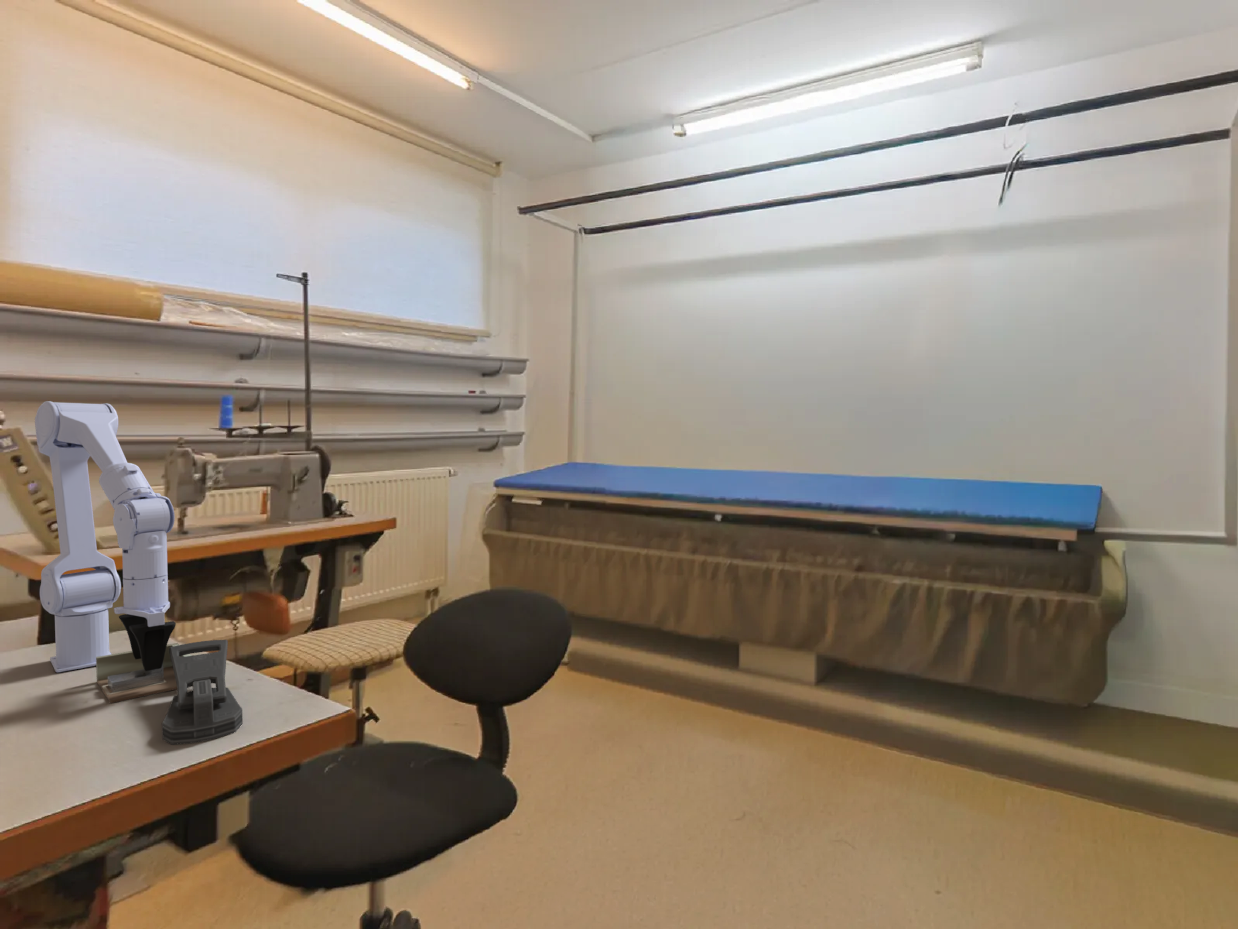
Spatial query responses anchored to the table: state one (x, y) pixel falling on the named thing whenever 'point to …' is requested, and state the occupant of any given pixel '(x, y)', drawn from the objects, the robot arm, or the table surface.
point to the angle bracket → (135, 679)
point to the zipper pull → (200, 695)
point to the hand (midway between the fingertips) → (147, 663)
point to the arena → (128, 663)
